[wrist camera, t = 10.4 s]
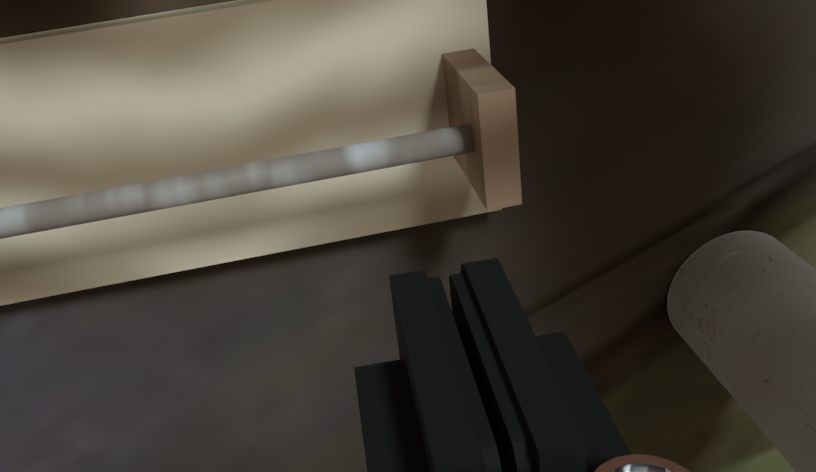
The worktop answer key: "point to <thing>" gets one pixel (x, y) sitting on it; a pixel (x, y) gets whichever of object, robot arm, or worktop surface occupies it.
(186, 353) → the worktop surface
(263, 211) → the rail
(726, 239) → the thermos bottle
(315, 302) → the worktop surface
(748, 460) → the worktop surface
